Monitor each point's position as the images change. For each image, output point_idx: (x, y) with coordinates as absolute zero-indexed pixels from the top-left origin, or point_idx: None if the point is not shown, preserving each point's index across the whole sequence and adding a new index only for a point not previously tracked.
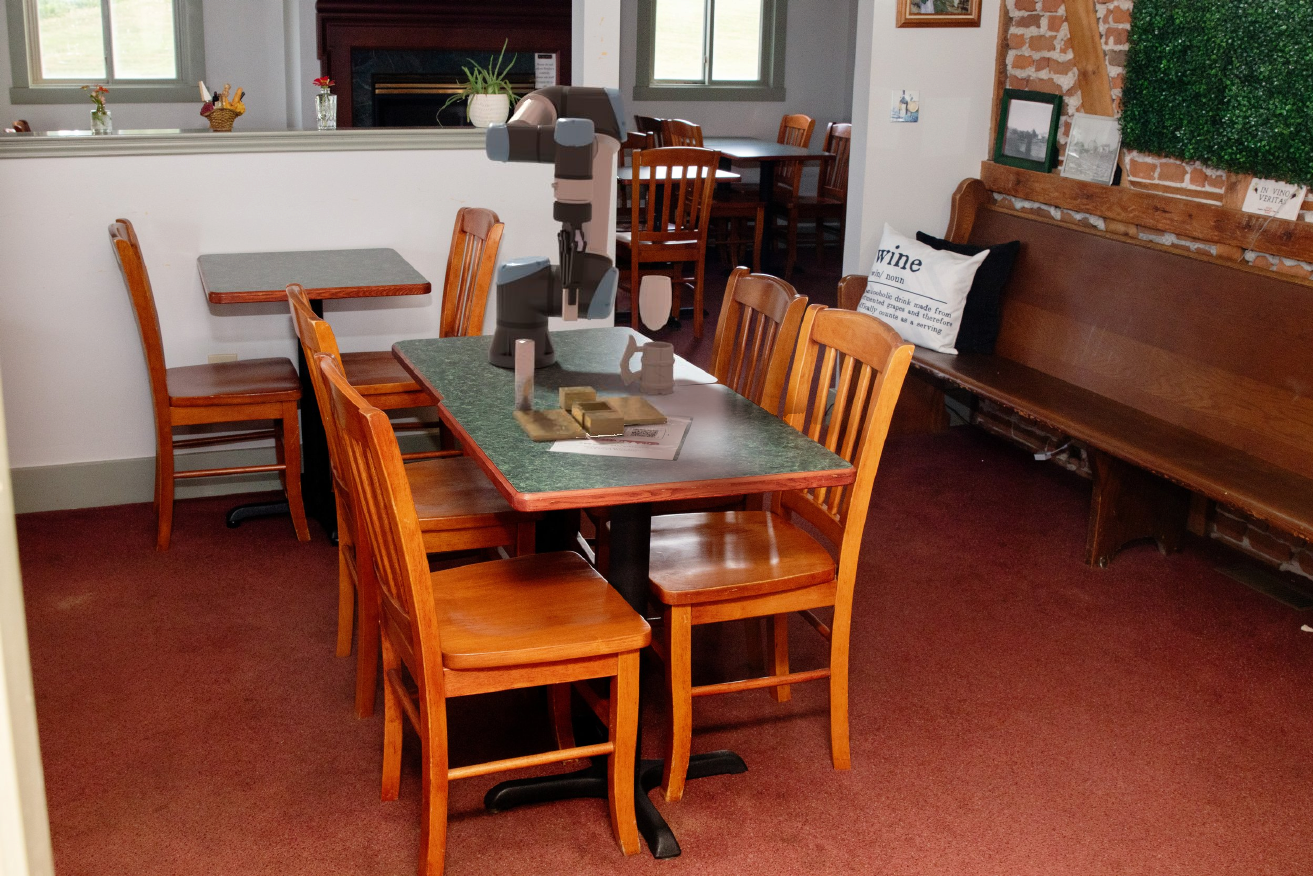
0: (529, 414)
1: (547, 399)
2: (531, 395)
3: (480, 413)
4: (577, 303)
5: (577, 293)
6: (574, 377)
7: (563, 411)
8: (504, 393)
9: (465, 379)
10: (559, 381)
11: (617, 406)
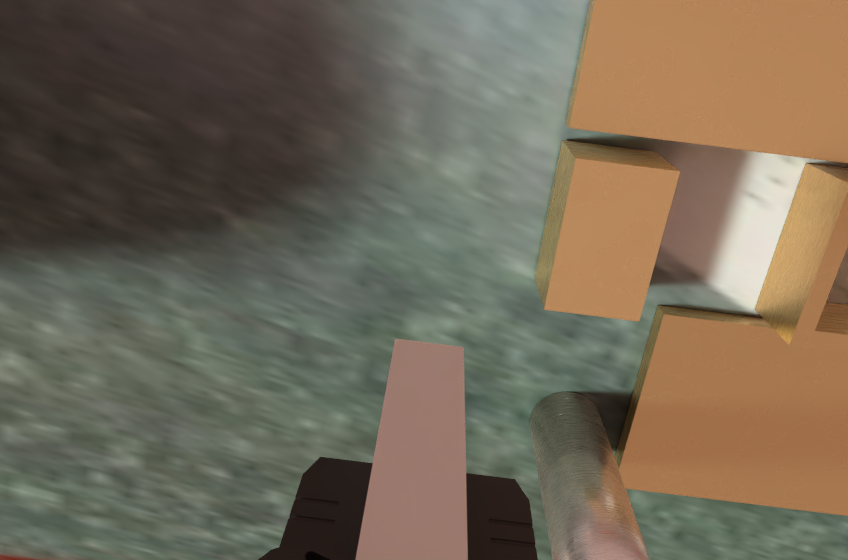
0: (676, 451)
1: (428, 283)
2: (612, 451)
3: None
4: (464, 450)
5: (465, 543)
6: (65, 9)
7: (698, 328)
8: (297, 401)
9: (69, 460)
10: (138, 117)
11: (752, 73)
